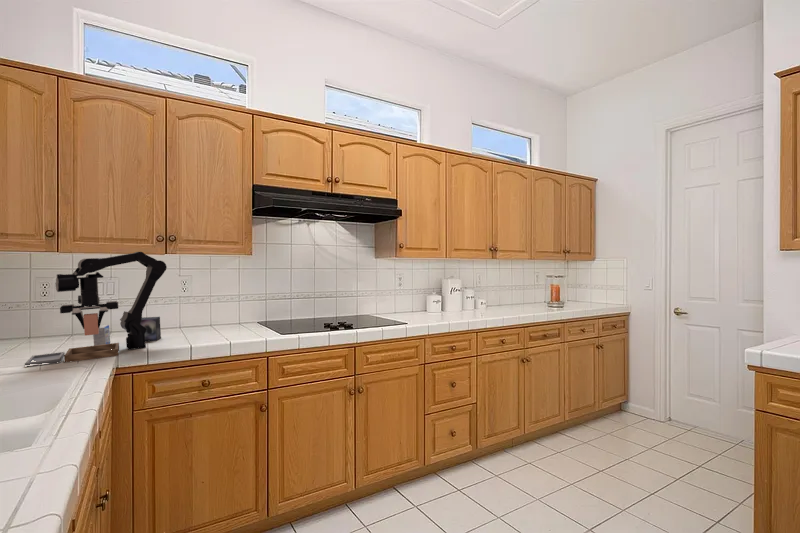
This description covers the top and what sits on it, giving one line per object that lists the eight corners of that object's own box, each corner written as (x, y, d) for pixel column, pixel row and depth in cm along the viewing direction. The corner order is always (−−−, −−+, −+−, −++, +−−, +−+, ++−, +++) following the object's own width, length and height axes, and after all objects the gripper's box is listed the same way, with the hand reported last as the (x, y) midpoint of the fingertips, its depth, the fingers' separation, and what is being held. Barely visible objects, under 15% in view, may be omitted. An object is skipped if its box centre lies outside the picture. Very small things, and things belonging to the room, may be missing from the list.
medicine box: (105, 347, 188) (104, 327, 187) (93, 348, 186) (92, 328, 186) (110, 343, 195) (109, 324, 194) (98, 344, 193) (97, 325, 193)
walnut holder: (119, 348, 184) (118, 342, 184) (118, 355, 171) (117, 349, 171) (69, 354, 175) (69, 348, 175) (64, 362, 162) (64, 355, 162)
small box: (131, 342, 195) (129, 319, 195) (137, 339, 202) (135, 317, 201) (156, 341, 197) (155, 318, 197) (161, 338, 204) (160, 316, 203)
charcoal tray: (64, 355, 174) (64, 351, 174) (59, 362, 162) (59, 358, 162) (32, 359, 169) (32, 355, 169) (25, 367, 157) (24, 363, 157)
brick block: (98, 332, 176) (97, 313, 175) (98, 334, 172) (97, 314, 172) (85, 333, 173) (84, 314, 173) (84, 335, 170) (83, 315, 169)
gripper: (117, 286, 184) (119, 322, 184) (62, 290, 174) (65, 328, 175) (116, 288, 174) (119, 326, 175) (58, 292, 164) (61, 332, 165)
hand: (91, 328), depth 173 cm, fingers closed on brick block, 4 cm apart
